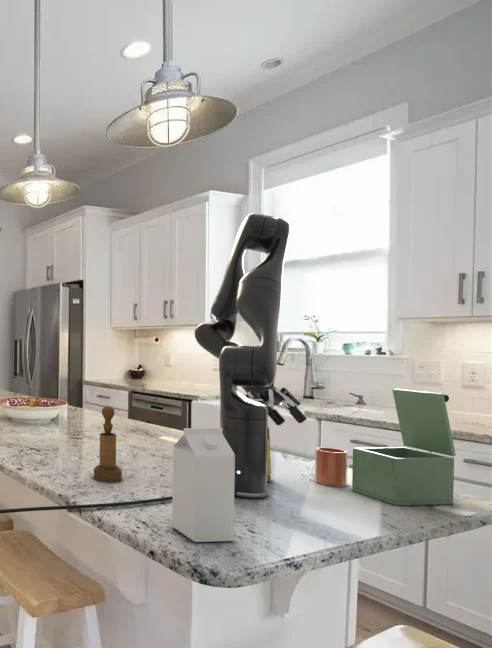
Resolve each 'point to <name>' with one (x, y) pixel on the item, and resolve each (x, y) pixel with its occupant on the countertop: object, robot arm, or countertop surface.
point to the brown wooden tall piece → (108, 451)
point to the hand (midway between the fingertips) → (292, 422)
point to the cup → (331, 466)
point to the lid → (424, 420)
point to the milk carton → (203, 485)
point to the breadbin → (403, 475)
